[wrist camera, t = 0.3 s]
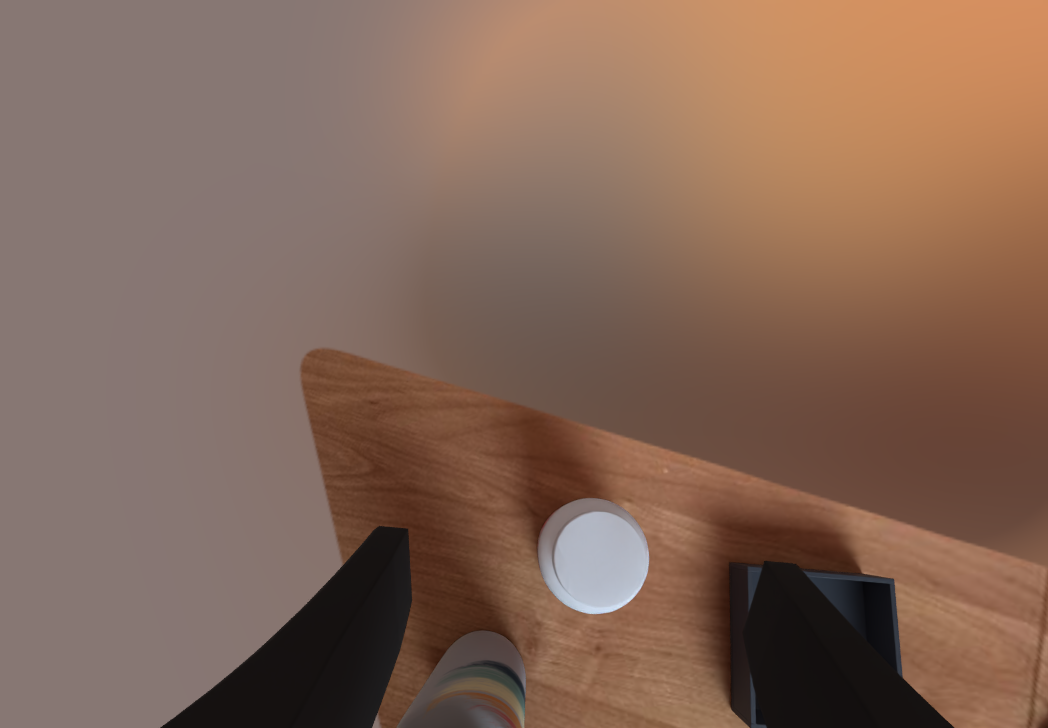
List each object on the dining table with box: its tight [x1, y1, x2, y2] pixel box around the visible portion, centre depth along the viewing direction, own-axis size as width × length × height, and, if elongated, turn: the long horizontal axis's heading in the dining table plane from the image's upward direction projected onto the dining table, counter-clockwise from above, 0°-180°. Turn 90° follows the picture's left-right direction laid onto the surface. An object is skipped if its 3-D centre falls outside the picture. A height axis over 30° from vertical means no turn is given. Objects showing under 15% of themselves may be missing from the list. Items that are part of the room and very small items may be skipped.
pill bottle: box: [538, 498, 649, 614], centre depth 33 cm, size 6×6×11 cm
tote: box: [729, 562, 903, 728], centre depth 35 cm, size 9×9×3 cm
